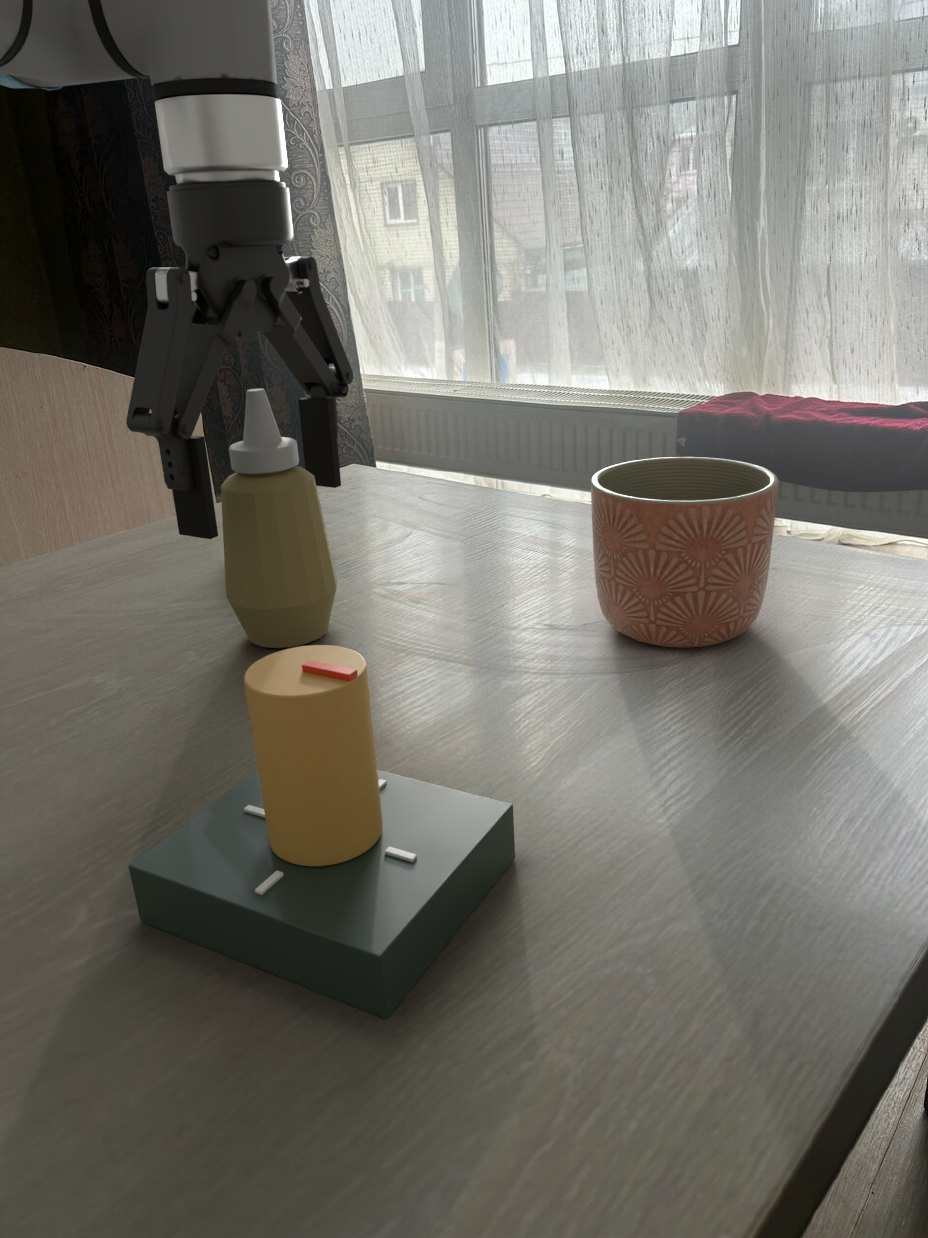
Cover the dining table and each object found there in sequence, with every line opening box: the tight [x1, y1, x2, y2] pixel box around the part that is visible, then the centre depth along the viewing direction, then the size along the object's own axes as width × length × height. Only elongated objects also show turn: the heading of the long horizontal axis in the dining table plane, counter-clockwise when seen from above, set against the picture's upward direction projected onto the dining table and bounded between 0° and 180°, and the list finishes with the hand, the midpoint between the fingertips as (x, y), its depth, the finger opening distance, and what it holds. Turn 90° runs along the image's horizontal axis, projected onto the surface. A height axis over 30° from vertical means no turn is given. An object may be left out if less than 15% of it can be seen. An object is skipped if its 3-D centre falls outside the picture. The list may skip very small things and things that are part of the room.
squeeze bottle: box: [220, 388, 338, 649], centre depth 69 cm, size 8×8×18 cm
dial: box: [243, 644, 383, 866], centre depth 41 cm, size 5×5×8 cm
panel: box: [127, 769, 516, 1019], centre depth 43 cm, size 13×11×3 cm
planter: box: [590, 456, 779, 649], centre depth 67 cm, size 12×12×11 cm
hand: (266, 508), depth 69 cm, fingers open, 13 cm apart
